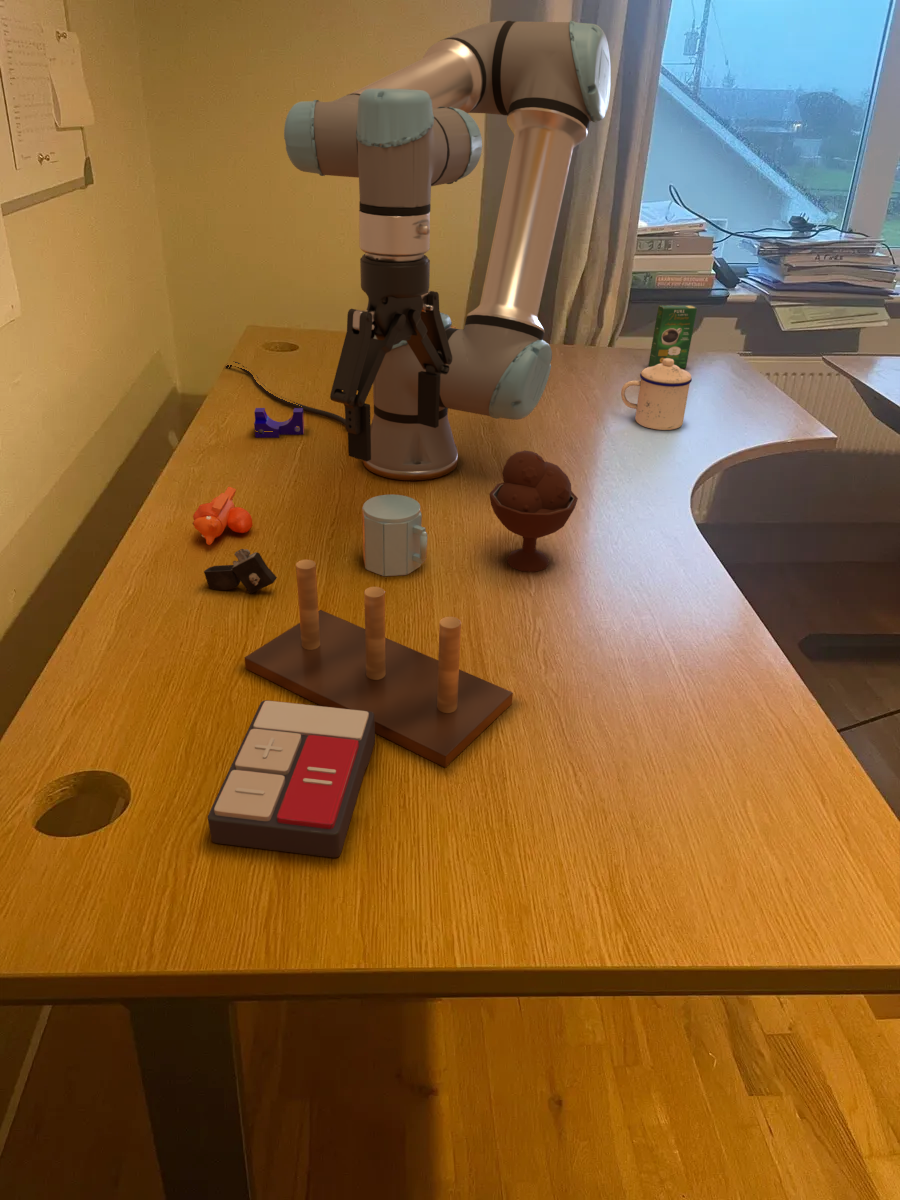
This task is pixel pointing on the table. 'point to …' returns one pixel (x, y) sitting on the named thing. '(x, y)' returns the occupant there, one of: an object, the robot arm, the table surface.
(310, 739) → the calculator
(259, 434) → the cable holder
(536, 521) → the ice cream bowl
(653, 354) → the coffee box
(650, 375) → the teacup with lid
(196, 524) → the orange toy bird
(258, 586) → the lighter
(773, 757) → the table surface
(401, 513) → the blue cup
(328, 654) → the peg rack
